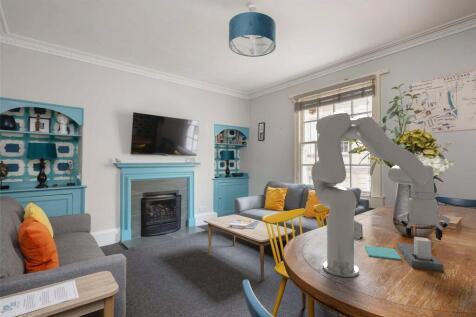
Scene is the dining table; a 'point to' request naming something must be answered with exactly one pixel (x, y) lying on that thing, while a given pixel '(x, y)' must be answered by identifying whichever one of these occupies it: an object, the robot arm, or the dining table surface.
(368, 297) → the dining table surface
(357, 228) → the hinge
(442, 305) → the dining table surface
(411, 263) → the slotted plate
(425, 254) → the steel block
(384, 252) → the mat
